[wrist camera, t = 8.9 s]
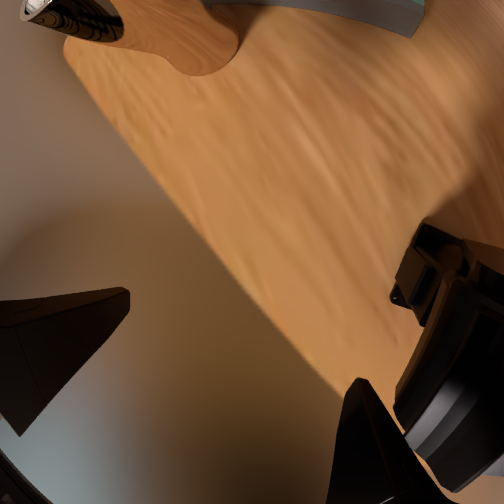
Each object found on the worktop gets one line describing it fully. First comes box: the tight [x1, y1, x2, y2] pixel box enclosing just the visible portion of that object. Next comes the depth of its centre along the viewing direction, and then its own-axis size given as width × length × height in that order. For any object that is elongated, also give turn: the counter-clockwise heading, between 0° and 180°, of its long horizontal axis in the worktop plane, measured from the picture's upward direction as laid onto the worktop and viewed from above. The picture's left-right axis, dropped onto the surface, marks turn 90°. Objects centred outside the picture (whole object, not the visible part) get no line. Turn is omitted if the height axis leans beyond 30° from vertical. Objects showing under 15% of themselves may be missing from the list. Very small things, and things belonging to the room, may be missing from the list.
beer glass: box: [20, 0, 240, 76], centre depth 10 cm, size 7×7×15 cm
